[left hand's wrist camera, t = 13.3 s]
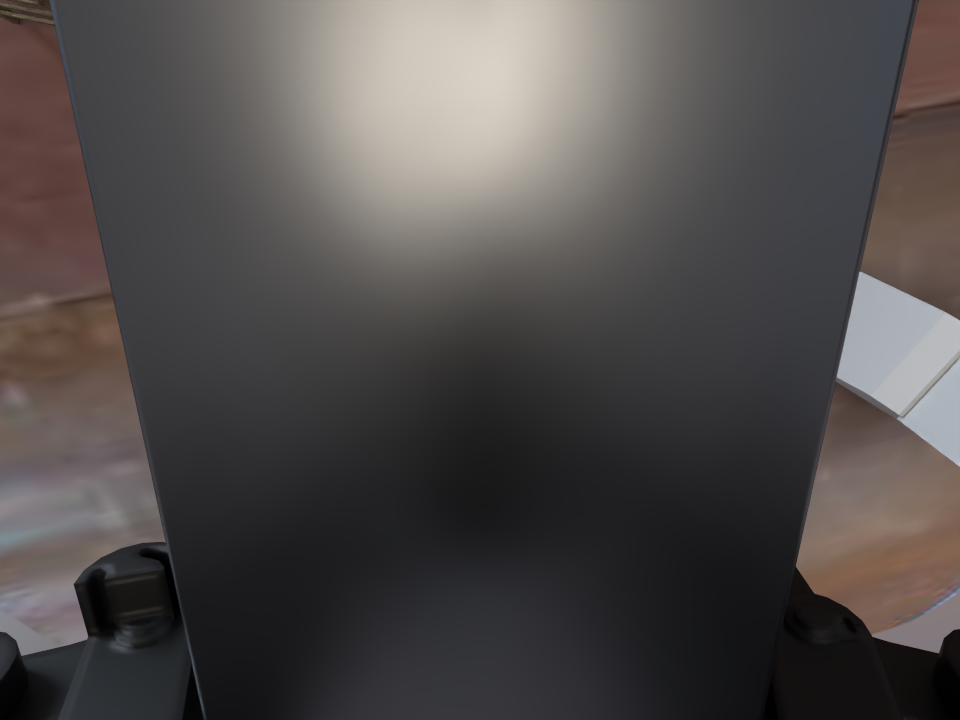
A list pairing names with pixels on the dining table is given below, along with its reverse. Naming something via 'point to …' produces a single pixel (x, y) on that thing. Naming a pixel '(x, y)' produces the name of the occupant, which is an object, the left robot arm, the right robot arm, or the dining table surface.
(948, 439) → the electronic device
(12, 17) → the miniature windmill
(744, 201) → the bar
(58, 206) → the dining table surface
